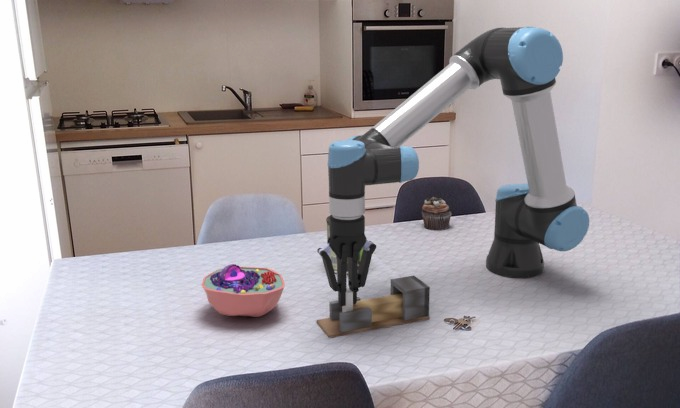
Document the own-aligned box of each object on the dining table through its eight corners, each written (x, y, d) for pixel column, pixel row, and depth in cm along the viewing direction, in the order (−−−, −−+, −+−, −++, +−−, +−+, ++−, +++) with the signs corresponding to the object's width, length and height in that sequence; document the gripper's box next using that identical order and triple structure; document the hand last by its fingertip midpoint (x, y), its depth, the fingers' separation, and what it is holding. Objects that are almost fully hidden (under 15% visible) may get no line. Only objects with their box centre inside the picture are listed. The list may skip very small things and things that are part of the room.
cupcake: (443, 233, 203) (444, 202, 200) (416, 228, 208) (417, 198, 206) (455, 225, 211) (457, 196, 208) (429, 220, 216) (429, 192, 213)
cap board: (412, 305, 150) (413, 275, 148) (429, 318, 143) (430, 287, 141) (316, 322, 142) (315, 290, 140) (328, 337, 135) (328, 304, 133)
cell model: (256, 338, 135) (253, 288, 132) (187, 317, 146) (183, 270, 143) (302, 309, 149) (300, 263, 146) (236, 291, 160) (234, 248, 157)
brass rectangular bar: (404, 308, 147) (404, 292, 146) (411, 315, 144) (411, 298, 143) (347, 319, 142) (347, 302, 141) (353, 325, 139) (353, 308, 138)
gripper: (368, 207, 140) (368, 306, 146) (311, 213, 135) (314, 315, 141) (382, 216, 133) (381, 319, 139) (323, 223, 128) (325, 330, 135)
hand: (347, 317), depth 140 cm, fingers closed
